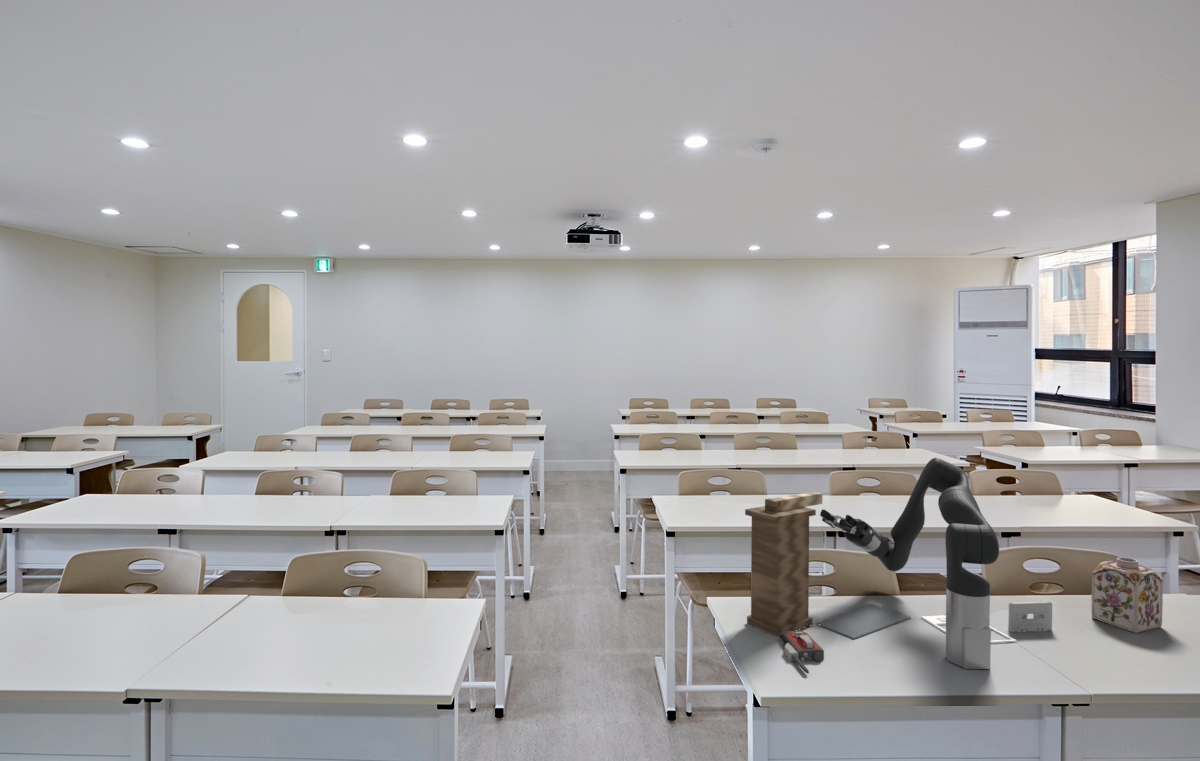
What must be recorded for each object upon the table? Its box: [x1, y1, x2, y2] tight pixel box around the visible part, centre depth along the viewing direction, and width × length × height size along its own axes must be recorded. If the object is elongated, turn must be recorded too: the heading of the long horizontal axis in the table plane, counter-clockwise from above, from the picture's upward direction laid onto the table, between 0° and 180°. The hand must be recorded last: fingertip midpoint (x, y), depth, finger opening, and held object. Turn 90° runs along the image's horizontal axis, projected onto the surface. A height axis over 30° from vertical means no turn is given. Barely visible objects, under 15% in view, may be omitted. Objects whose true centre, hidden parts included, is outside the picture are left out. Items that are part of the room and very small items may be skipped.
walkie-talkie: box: [779, 630, 825, 674], centre depth 159 cm, size 9×4×20 cm
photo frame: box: [920, 614, 1017, 645], centre depth 175 cm, size 15×1×18 cm
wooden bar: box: [764, 491, 823, 513], centre depth 181 cm, size 20×4×3 cm, turn 123°
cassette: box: [1007, 601, 1053, 633], centre depth 175 cm, size 12×2×8 cm, turn 94°
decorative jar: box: [1091, 556, 1164, 634], centre depth 180 cm, size 12×12×18 cm
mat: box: [816, 603, 911, 640], centre depth 181 cm, size 26×12×1 cm, turn 123°
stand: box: [744, 505, 817, 638], centre depth 179 cm, size 16×11×32 cm
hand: (834, 515), depth 191 cm, fingers open, 8 cm apart
